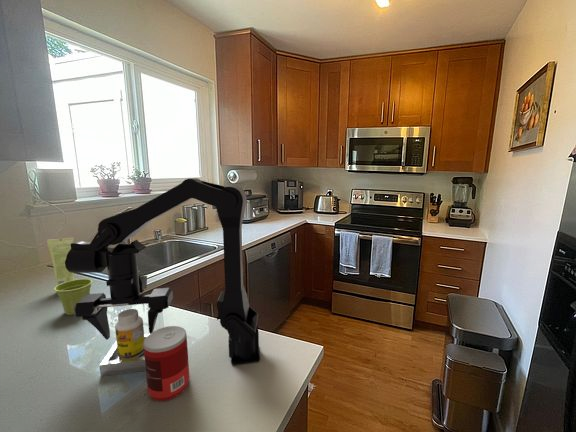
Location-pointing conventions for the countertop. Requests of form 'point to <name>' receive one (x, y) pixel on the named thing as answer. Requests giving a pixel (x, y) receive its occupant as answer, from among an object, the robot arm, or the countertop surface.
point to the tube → (60, 258)
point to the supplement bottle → (129, 334)
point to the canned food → (166, 362)
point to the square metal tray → (121, 363)
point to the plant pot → (72, 293)
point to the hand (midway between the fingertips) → (130, 336)
